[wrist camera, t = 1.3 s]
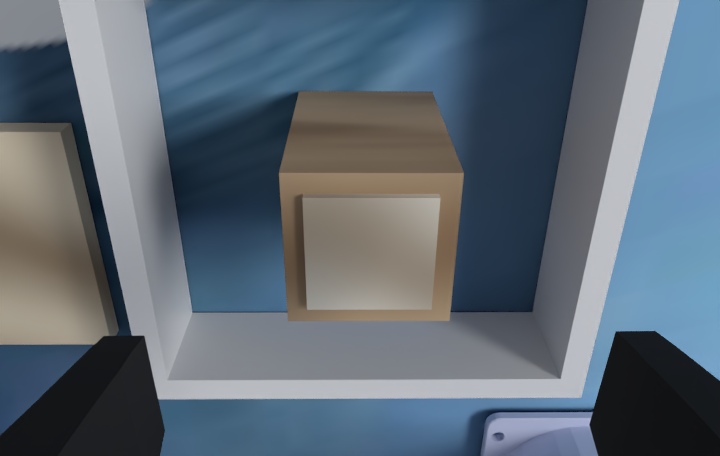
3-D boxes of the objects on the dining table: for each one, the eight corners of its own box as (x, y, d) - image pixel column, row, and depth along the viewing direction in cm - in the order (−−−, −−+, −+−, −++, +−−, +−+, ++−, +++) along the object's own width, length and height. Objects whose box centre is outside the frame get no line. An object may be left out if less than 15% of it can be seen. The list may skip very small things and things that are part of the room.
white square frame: (550, 329, 23) (581, 397, 20) (173, 330, 23) (145, 399, 20) (635, -95, 16) (701, -89, 13) (97, -99, 16) (37, -95, 13)
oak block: (424, 209, 21) (450, 326, 15) (303, 209, 20) (287, 326, 15) (432, 91, 19) (465, 176, 13) (299, 91, 19) (278, 176, 13)
